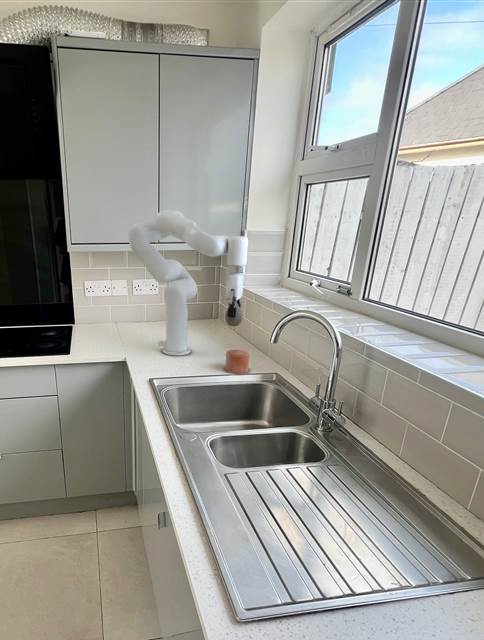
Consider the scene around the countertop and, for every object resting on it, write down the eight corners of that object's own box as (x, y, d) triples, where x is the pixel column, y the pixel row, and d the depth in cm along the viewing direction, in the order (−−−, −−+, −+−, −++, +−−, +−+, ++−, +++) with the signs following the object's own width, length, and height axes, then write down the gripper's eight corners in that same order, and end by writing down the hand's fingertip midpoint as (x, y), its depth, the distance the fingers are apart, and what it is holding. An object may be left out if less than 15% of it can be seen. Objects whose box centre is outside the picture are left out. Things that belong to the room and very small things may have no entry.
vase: (242, 327, 162) (243, 305, 158) (224, 326, 163) (225, 305, 160) (241, 323, 168) (243, 302, 165) (225, 322, 169) (226, 301, 166)
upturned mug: (245, 374, 157) (246, 357, 154) (222, 371, 160) (223, 354, 157) (251, 365, 167) (253, 348, 164) (230, 362, 170) (231, 345, 167)
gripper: (232, 267, 166) (230, 310, 173) (221, 272, 151) (219, 319, 158) (250, 267, 163) (247, 311, 170) (241, 272, 149) (238, 320, 155)
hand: (234, 314), depth 164 cm, fingers closed on vase, 6 cm apart
